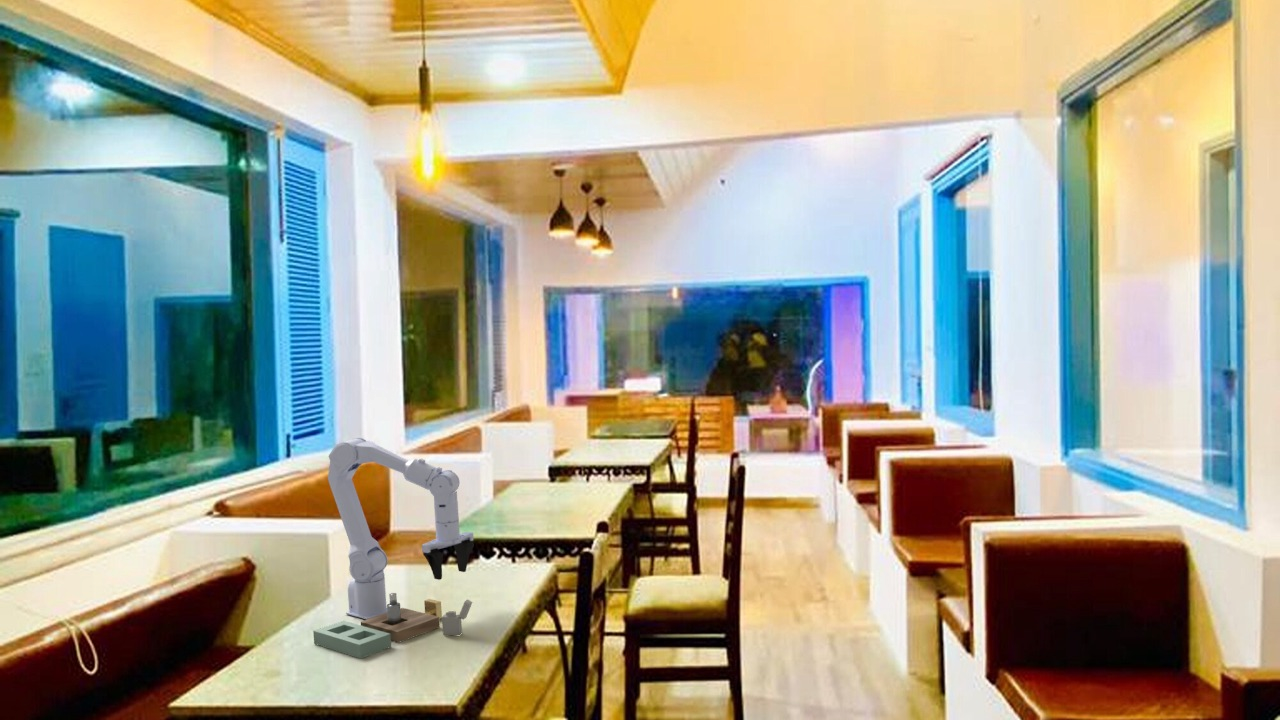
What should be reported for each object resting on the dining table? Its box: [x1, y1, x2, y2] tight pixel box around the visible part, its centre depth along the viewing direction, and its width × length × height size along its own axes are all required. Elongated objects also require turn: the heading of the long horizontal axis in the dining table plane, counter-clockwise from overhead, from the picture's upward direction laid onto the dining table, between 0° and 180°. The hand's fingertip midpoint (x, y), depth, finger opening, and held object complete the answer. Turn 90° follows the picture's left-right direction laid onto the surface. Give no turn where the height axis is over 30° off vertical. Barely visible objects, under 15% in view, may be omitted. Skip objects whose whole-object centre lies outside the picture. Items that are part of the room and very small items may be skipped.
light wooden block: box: [423, 598, 443, 620], centre depth 223 cm, size 4×6×4 cm
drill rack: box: [312, 620, 392, 659], centre depth 208 cm, size 18×8×3 cm, turn 51°
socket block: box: [360, 607, 441, 643], centre depth 217 cm, size 14×12×2 cm
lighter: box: [441, 599, 473, 636], centre depth 212 cm, size 7×2×8 cm, turn 78°
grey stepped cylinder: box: [386, 592, 401, 626], centre depth 216 cm, size 3×3×9 cm
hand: (450, 575), depth 228 cm, fingers open, 7 cm apart
